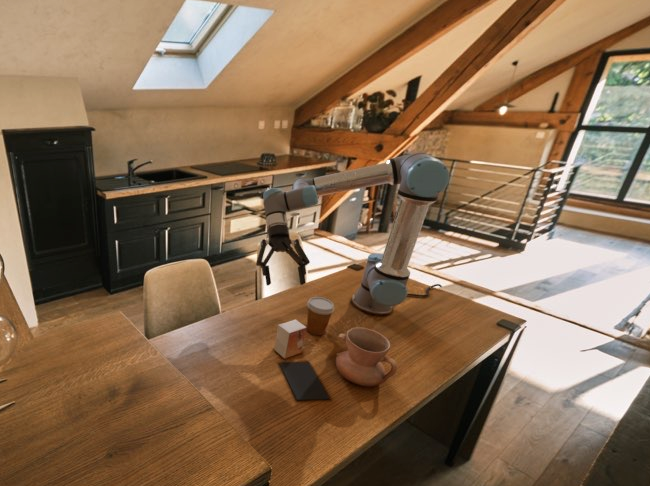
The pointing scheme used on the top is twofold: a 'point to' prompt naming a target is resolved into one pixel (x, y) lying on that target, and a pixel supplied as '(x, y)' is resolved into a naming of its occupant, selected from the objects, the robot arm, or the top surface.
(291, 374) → the mat
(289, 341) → the small box
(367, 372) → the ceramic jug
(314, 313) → the disposable coffee cup
